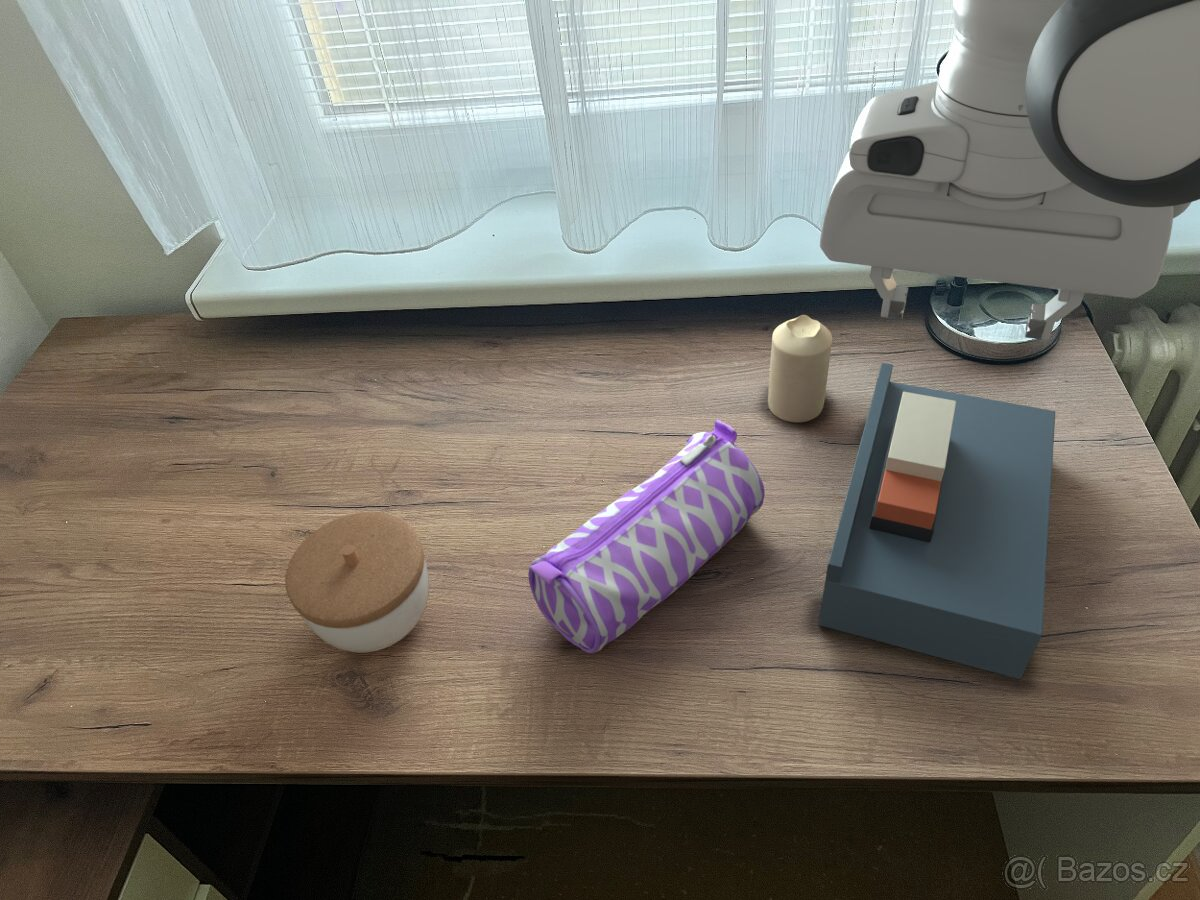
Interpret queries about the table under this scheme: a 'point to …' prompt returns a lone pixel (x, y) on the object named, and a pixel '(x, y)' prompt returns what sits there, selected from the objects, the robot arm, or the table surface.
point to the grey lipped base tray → (951, 539)
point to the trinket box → (360, 581)
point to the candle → (799, 369)
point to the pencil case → (647, 541)
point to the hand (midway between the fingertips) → (962, 323)
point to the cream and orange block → (914, 467)
